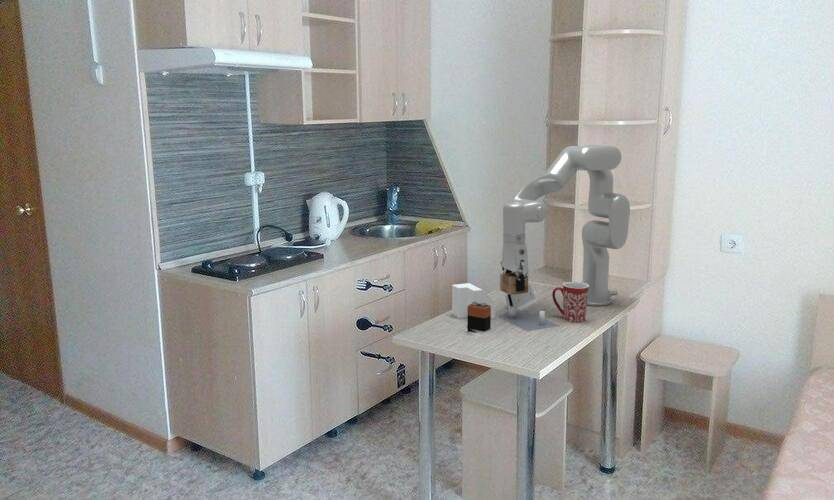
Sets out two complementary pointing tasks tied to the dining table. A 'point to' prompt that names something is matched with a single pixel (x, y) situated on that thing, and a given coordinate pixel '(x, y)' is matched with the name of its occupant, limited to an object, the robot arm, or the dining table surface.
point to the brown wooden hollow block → (511, 283)
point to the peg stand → (527, 319)
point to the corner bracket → (468, 299)
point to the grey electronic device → (521, 300)
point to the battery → (479, 317)
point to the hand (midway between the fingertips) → (514, 288)
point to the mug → (573, 301)
